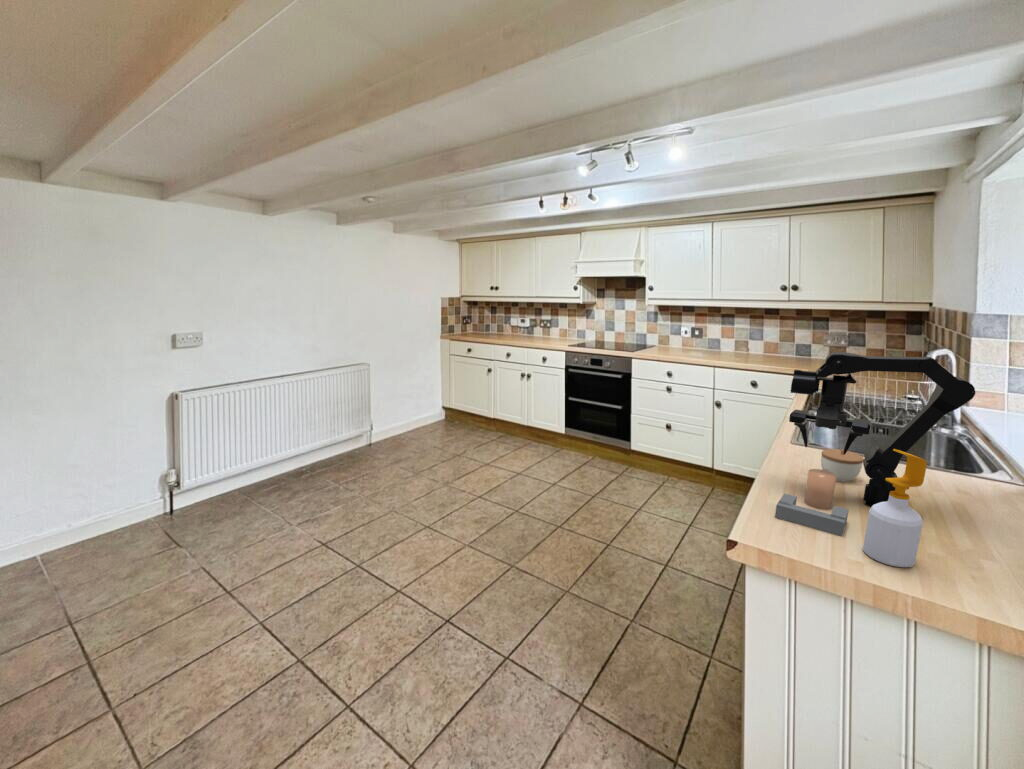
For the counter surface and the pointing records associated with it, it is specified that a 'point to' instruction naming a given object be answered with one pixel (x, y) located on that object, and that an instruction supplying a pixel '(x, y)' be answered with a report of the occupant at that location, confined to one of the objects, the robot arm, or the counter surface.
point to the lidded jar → (842, 464)
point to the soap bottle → (896, 520)
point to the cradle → (811, 516)
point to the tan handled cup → (820, 489)
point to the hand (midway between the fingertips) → (824, 450)
